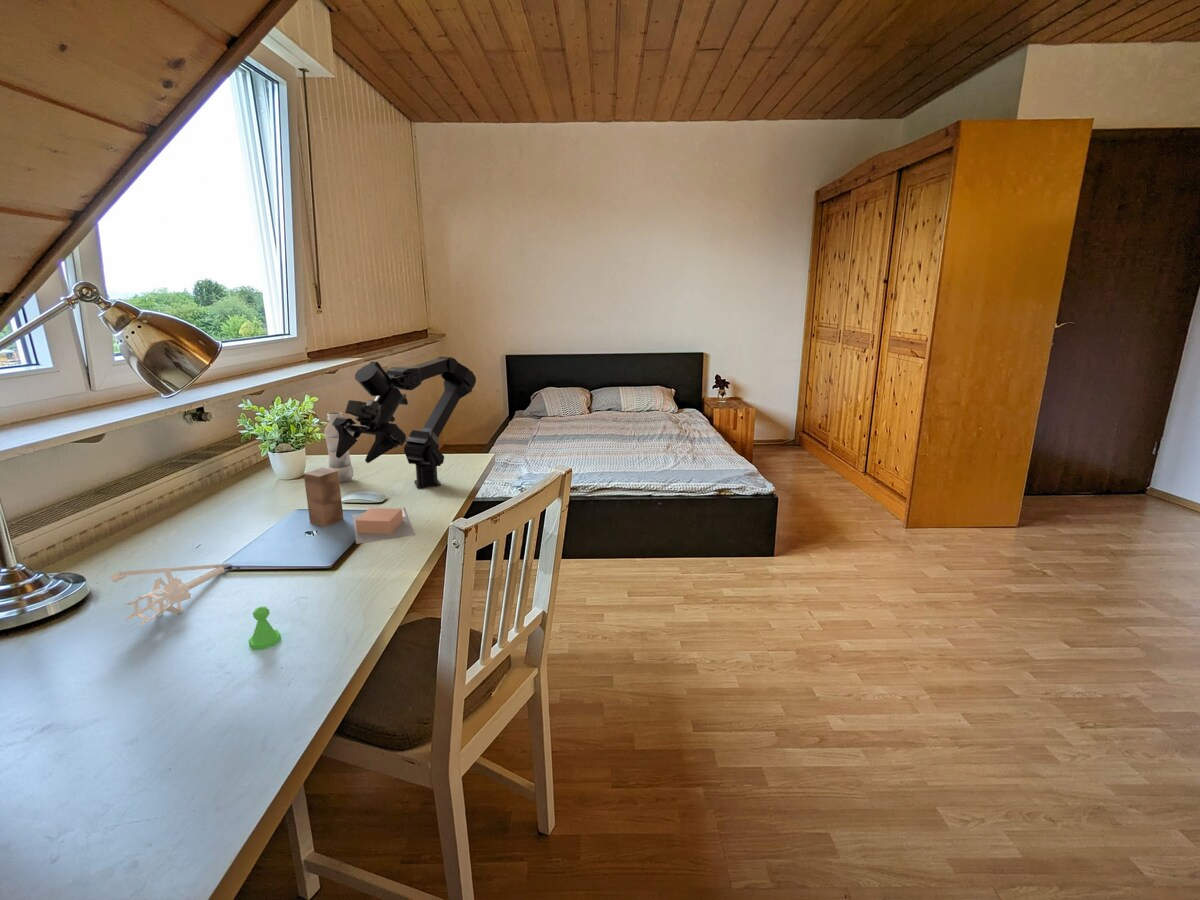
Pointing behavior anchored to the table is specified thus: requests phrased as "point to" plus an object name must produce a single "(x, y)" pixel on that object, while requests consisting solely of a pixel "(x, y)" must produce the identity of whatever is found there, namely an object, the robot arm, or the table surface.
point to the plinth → (379, 521)
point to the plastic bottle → (332, 440)
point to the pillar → (323, 496)
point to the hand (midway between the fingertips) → (351, 459)
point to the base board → (400, 531)
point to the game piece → (263, 631)
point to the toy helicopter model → (168, 589)
